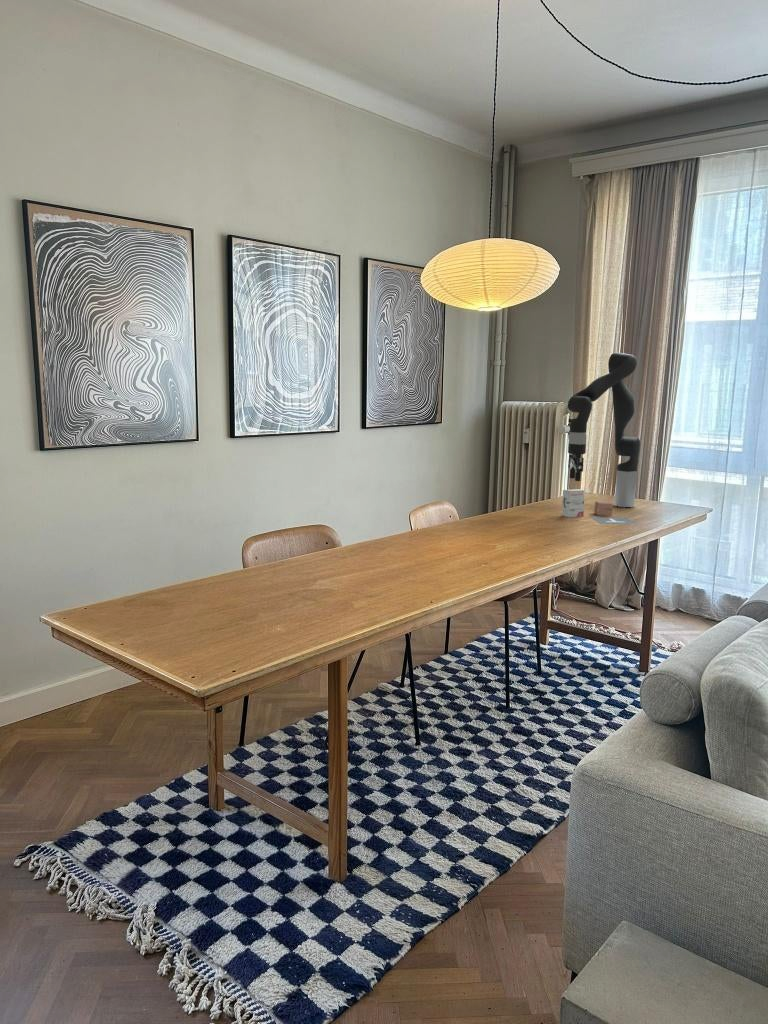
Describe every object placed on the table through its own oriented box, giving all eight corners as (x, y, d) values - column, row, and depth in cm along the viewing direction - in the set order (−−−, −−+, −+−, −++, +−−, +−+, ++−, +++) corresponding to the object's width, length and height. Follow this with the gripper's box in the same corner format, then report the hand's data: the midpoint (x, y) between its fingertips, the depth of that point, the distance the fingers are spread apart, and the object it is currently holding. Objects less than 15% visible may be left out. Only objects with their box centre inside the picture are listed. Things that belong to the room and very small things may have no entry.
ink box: (576, 514, 345) (578, 488, 343) (583, 516, 340) (585, 490, 338) (560, 516, 341) (562, 489, 339) (568, 518, 337) (569, 491, 334)
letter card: (589, 517, 339) (589, 516, 339) (625, 517, 340) (625, 517, 339) (600, 524, 323) (600, 523, 323) (638, 525, 324) (638, 524, 324)
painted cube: (594, 514, 348) (595, 500, 347) (607, 514, 348) (608, 501, 347) (598, 516, 342) (599, 503, 341) (611, 516, 342) (612, 503, 341)
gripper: (564, 441, 342) (562, 477, 344) (573, 444, 328) (570, 481, 330) (581, 441, 342) (578, 477, 345) (590, 444, 328) (588, 482, 331)
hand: (574, 479), depth 338 cm, fingers open, 8 cm apart
